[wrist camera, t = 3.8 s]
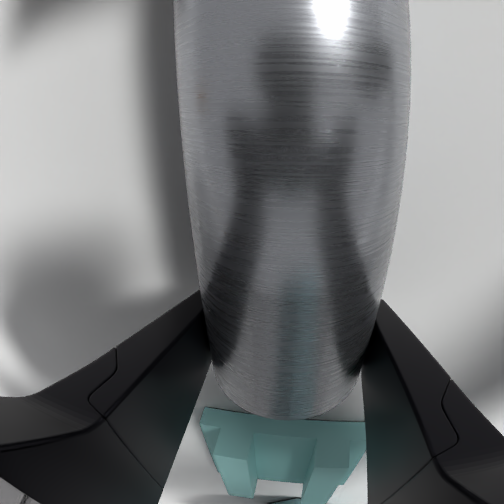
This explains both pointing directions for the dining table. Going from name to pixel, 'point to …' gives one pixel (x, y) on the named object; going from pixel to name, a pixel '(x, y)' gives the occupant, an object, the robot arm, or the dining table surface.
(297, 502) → the flower pot
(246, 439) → the cradle
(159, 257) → the dining table surface
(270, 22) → the axle
